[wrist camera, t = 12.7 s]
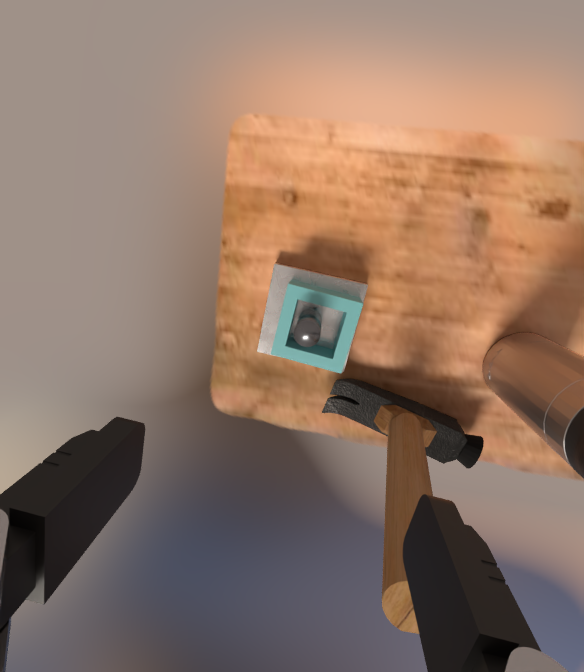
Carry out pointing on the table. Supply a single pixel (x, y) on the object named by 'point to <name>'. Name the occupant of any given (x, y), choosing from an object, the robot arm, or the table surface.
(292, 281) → the collar
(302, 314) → the stand
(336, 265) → the table surface
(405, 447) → the hammer
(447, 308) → the table surface
